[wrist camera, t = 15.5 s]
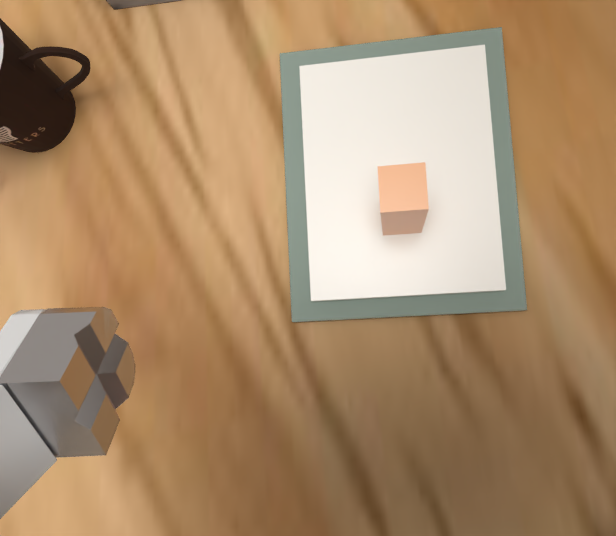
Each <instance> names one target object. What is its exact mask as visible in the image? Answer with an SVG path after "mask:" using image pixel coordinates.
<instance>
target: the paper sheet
mask: <svg viewBox="0 0 616 536" xmlns="http://www.w3.org/2000/svg"><path fill="white" fill-rule="evenodd" d="M299 69H300V89H301V110H302V130H303V150H304V170H305V191H306V211H307V231H308V252H309V272H310V292H311V301H313V302H314V301H332V300H350V299H367V298H385V297H403V296H421V295H439V294H457V293H475V292H492V291H504V290H506V283H505V271H504V260H503V248H502V236H501V225H500V213H499V202H498V190H497V179H496V167H495V156H494V144H493V133H492V121H491V109H490V98H489V86H488V75H487V63H486V52H485V45H477V46H468V47H460V48H451V49H442V50H434V51H425V52H416V53H408V54H399V55H390V56H382V57H373V58H364V59H356V60H347V61H339V62H330V63H321V64H313V65H304V66H299Z"/></svg>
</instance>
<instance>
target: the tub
mask: <svg viewBox="0 0 616 536" xmlns="http://www.w3.org/2000/svg"><path fill="white" fill-rule="evenodd" d="M106 1H107V2H108V3H109V4H110V5H111V6H112V7H113V9H121V8H129V7H136V6H143V5H151V4H158V3H165V2H173V1H180V0H106Z"/></svg>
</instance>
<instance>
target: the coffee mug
mask: <svg viewBox="0 0 616 536" xmlns="http://www.w3.org/2000/svg"><path fill="white" fill-rule="evenodd" d="M46 56H60V57H67V58H71V59H73V60H76V61H78V62H79V63H80V64H81V65H82V68H81V71H80V72H79V73H78V74H77V75H75V76H74V77H73V78H71V79H70V80H69V81H67V82H66V83H63V82H62V81H61V80H60V79H59V78H58V77H57V76H56V75H55V74H54V73H53V72H52V71H51V70H50V69H49V68H48V67H47V66H46V65H45V64H44V62H43V61H42V60H41V59H40V58H42V57H46ZM89 72H90V61H89V59H88V58H87V57H86V56H85V55H83V54H81V53H79V52H78V51H75V50H73V49H69V48H63V47H39V48H35V49H33V50H31V49H30V48H29V47H28V46H27V45H26V44H25V43H24V42H23V41H22V40H21V39H20V38H19V37H18V36H17V35H16V34H15V33H14V32H13V31H12V30H11V29H10V28H9V27H8V26H7V25H6V24H5V23H4V22H3V21H2V20H1V19H0V144H3V145H6V146H10V147H13V148H17V149H20V150H24V151H28V152H43V151H47V150H49V149H51V148H53V147H55V146H56V145H58V144H59V143H61V142H62V140H63V139H64V138H65V137H66V136H67V135H68V133H69V132H70V130H71V128H72V125H73V123H74V119H75V110H76V108H75V101H74V98H73V95H72V93H71V91H70V90H72V89H73V88H75V87H76V86H77V85H79V84H80V83H81V82H83V81H84V80H85V78H86V77H87V76H88V74H89Z"/></svg>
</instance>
